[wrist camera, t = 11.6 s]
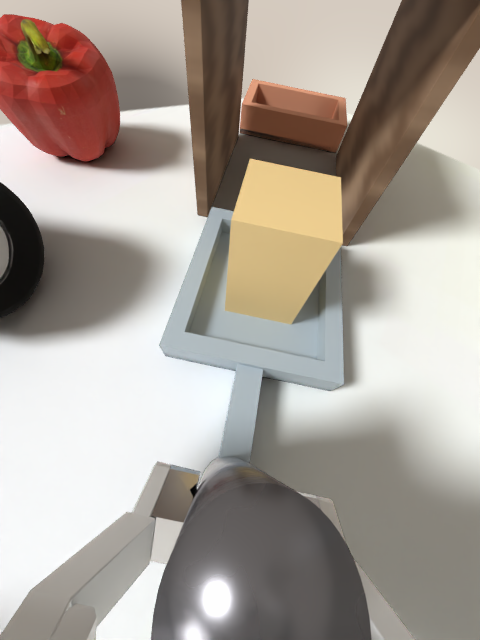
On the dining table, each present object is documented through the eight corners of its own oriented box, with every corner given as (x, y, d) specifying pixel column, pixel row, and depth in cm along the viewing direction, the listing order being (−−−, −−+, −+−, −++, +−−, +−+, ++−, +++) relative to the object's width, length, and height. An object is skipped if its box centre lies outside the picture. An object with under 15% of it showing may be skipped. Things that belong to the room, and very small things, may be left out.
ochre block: (237, 260, 20) (250, 158, 13) (295, 272, 20) (340, 177, 13) (224, 310, 17) (231, 219, 10) (290, 324, 17) (342, 243, 10)
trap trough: (249, 106, 35) (252, 79, 32) (335, 124, 35) (345, 98, 32) (239, 132, 31) (242, 104, 29) (335, 152, 31) (347, 125, 28)
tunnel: (230, 135, 31) (244, -134, 16) (343, 158, 31) (455, -91, 16) (197, 214, 23) (169, -154, 9) (347, 246, 23) (562, -76, 9)
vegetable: (149, 169, 26) (114, 27, 17) (45, 193, 23) (-64, 34, 14) (115, 121, 30) (73, -15, 21) (22, 136, 26) (-74, -17, 18)
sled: (212, 225, 22) (209, 56, 13) (330, 250, 22) (420, 99, 12) (114, 497, 12) (-267, 703, 3) (329, 544, 12) (771, 936, 2)
